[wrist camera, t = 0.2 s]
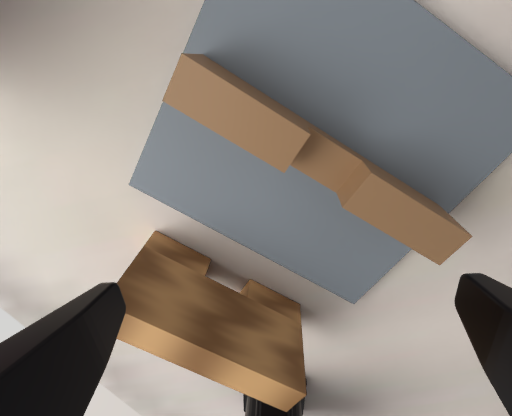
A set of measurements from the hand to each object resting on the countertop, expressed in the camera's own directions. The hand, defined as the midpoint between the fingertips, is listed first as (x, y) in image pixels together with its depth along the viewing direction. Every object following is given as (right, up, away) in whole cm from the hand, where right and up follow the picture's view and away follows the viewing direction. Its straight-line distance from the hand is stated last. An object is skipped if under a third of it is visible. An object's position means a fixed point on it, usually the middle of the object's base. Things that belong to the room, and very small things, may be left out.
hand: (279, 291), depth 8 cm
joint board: (+3, +6, +12) cm, 14 cm away
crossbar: (-3, -4, +18) cm, 19 cm away
